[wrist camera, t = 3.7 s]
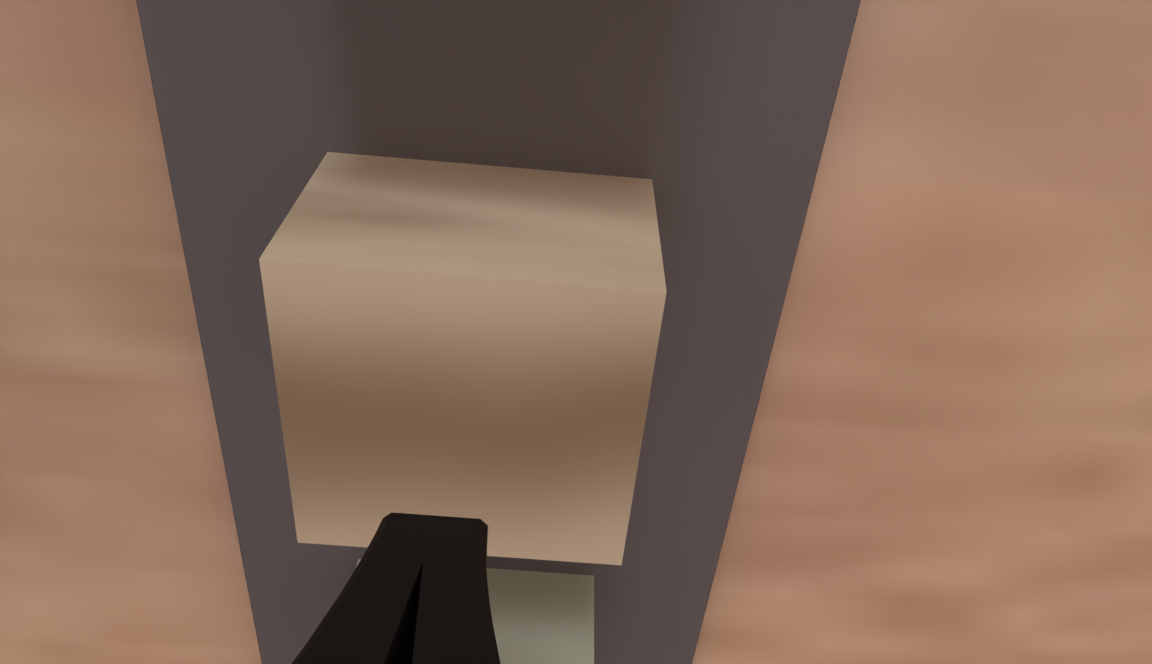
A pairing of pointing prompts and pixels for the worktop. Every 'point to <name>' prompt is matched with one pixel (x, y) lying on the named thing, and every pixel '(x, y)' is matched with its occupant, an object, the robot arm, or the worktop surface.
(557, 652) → the numeral block seven
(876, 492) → the worktop surface
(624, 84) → the tap mat
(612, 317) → the plain block
